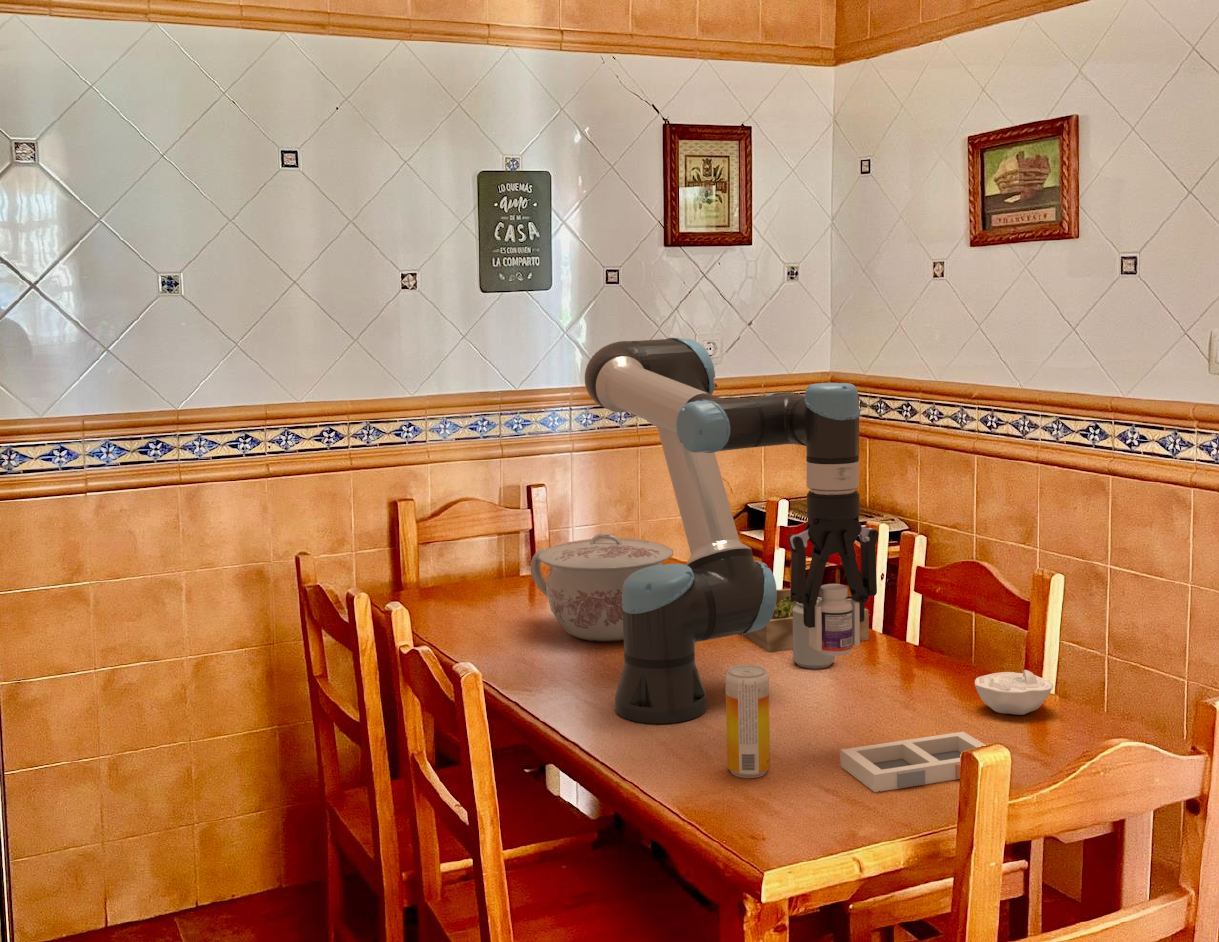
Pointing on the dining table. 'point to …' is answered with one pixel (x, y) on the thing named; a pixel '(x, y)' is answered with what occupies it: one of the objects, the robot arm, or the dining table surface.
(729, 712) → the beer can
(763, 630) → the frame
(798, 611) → the can
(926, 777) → the socket block
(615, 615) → the chamber pot
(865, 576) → the robot arm
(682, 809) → the dining table surface
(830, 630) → the pill bottle
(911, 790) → the dining table surface
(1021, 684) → the cell model
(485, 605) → the dining table surface
